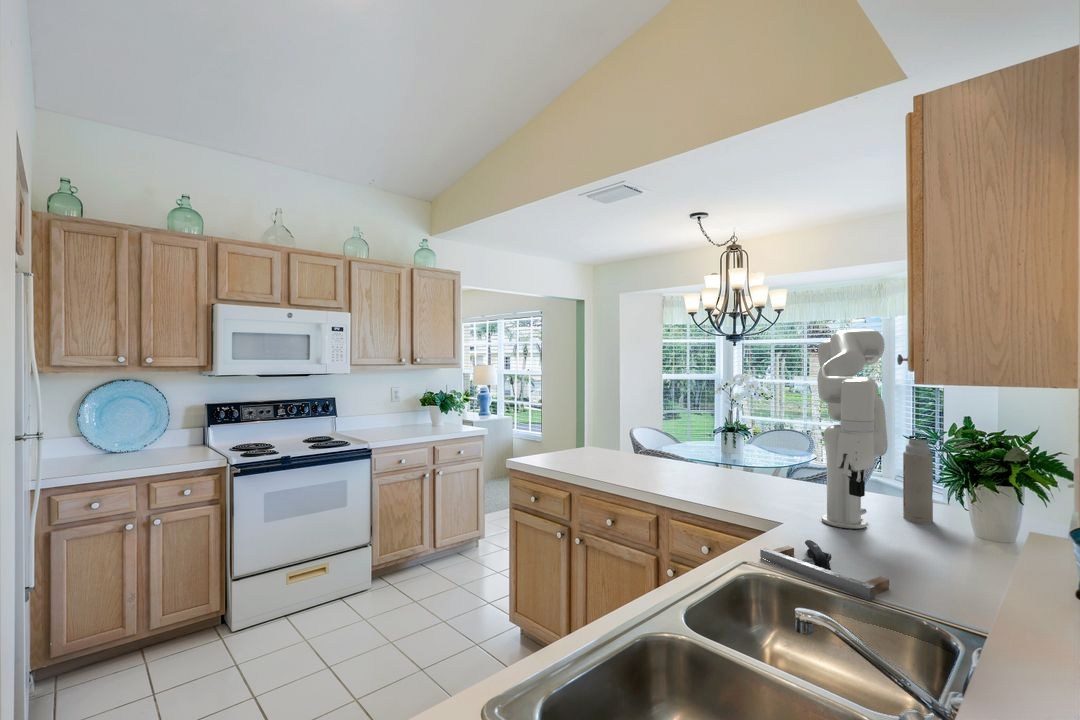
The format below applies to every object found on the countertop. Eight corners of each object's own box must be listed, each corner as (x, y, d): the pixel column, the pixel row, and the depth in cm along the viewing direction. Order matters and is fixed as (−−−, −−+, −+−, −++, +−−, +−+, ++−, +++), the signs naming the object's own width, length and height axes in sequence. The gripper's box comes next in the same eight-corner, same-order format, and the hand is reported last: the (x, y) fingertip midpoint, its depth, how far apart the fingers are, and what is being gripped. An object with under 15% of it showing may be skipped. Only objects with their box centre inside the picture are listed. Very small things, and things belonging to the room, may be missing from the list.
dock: (784, 553, 146) (784, 542, 146) (893, 591, 122) (893, 578, 122) (760, 560, 141) (760, 549, 141) (869, 601, 117) (869, 588, 117)
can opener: (835, 578, 130) (834, 555, 130) (803, 574, 132) (803, 552, 132) (824, 553, 146) (824, 533, 146) (796, 550, 149) (796, 530, 149)
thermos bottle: (899, 520, 176) (899, 435, 176) (907, 515, 181) (907, 433, 181) (928, 525, 170) (928, 438, 170) (936, 521, 175) (935, 436, 175)
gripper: (858, 421, 146) (858, 487, 147) (826, 427, 139) (826, 496, 140) (887, 425, 140) (887, 494, 141) (855, 431, 132) (855, 504, 133)
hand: (856, 495), depth 140 cm, fingers closed
